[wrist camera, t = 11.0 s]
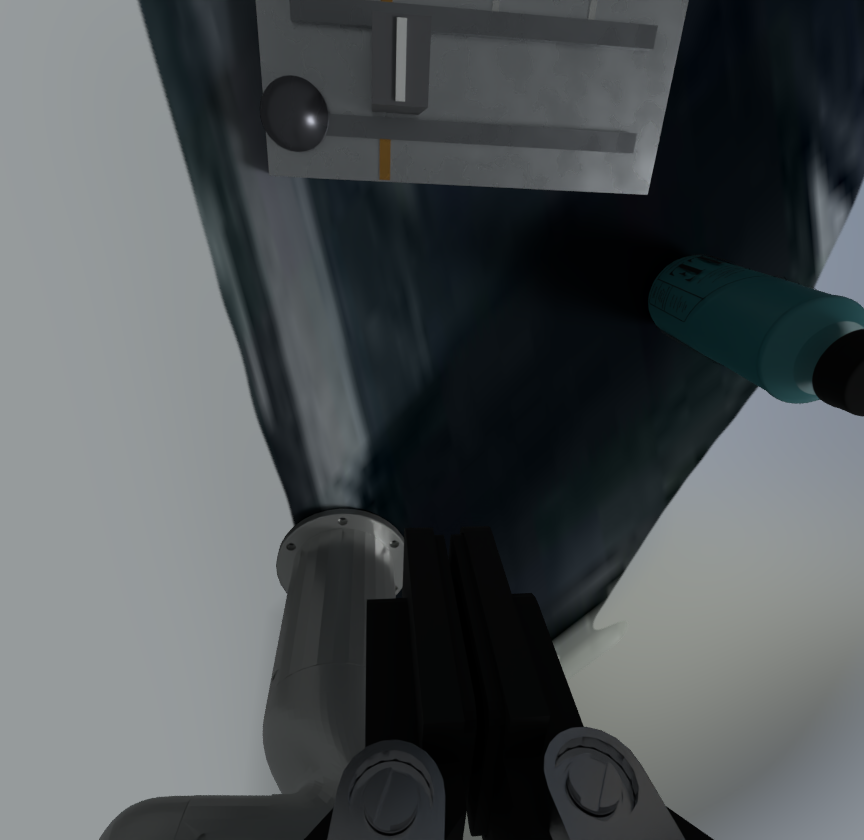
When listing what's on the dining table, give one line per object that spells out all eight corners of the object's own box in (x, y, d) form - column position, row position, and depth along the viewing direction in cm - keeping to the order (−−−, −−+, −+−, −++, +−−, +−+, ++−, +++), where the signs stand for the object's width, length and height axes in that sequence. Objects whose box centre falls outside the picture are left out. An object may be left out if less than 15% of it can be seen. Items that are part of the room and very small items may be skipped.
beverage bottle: (661, 344, 45) (848, 469, 27) (620, 286, 43) (798, 383, 25) (728, 291, 44) (972, 387, 26) (689, 228, 41) (932, 286, 23)
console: (634, 192, 40) (657, 196, 36) (274, 174, 37) (265, 176, 33) (675, -11, 34) (706, -27, 31) (257, -51, 31) (244, -74, 28)
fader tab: (418, 114, 34) (428, 107, 29) (371, 111, 34) (371, 103, 28) (421, 38, 32) (432, 15, 27) (371, 34, 32) (371, 9, 26)
